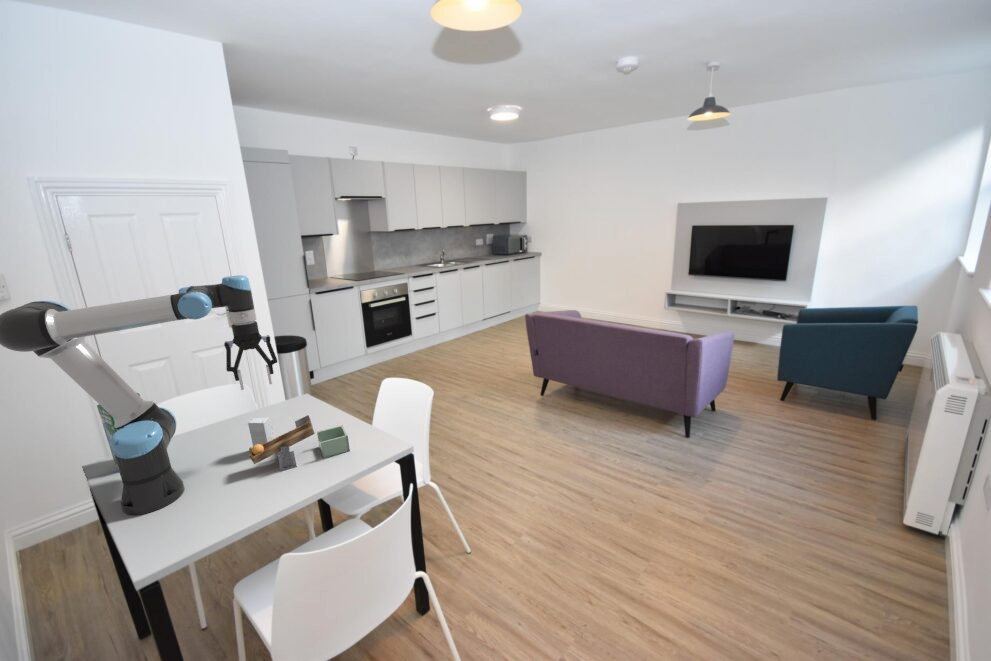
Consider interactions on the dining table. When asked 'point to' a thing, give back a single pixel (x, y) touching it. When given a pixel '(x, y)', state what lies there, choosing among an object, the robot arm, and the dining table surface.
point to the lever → (285, 439)
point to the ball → (257, 449)
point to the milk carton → (108, 425)
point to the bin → (333, 441)
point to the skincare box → (261, 430)
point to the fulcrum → (286, 458)
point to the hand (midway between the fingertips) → (256, 385)
